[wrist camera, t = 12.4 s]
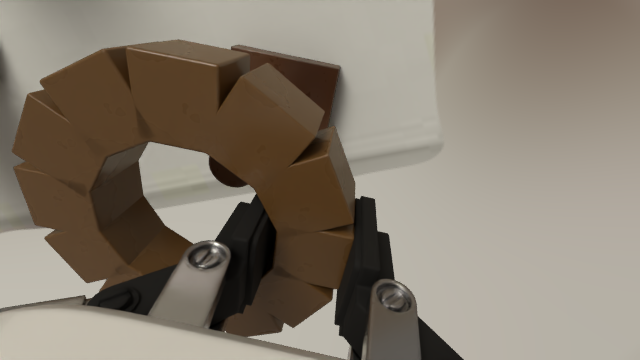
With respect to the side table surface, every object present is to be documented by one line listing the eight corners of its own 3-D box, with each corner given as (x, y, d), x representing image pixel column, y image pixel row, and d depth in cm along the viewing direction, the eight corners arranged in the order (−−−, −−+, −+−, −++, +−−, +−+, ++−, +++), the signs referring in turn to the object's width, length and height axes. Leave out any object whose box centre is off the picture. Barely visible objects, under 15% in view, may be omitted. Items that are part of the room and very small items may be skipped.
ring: (107, 263, 16) (64, 305, 13) (44, 12, 10) (-49, 10, 8) (325, 310, 15) (319, 361, 13) (387, 80, 10) (396, 100, 8)
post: (234, 140, 27) (160, 214, 17) (238, 44, 23) (144, 66, 13) (321, 159, 27) (299, 244, 17) (340, 65, 23) (325, 104, 13)
